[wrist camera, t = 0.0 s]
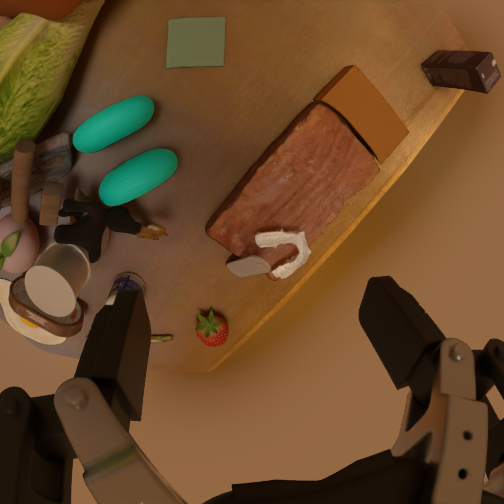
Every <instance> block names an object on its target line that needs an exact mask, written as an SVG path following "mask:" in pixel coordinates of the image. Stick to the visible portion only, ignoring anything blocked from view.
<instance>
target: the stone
mask: <svg viewBox="0 0 504 504" xmlns="http://www.w3.org/2000/svg"><path fill="white" fill-rule="evenodd" d="M72 142H73V141H72V136H71V132H68V131H65V132H62V133H60V134H58V135H56V136H53V137H50V138H49V139H47V140H44V141H41V142H39V143H37V144H35V145H36V148H35V154H34V161H33V168H32V176H31V185H30V195H29V196H31V195H33V194H35V193H37V192H39V191H41V190H43V187H44V183H45V181H49V182H55V181H56V180H58V179H60V178H61V177H63V176H65V175H66V174H67V173H68V172H69V171H70V169H71V165H72V160H73V159H72V155H71V145H72ZM13 160H14V157H12V158H10V159H9V160H7V161H5V162H3V163H1V164H0V183H1V208H4V207H6V206H9V205H11V188H12V171H13Z"/></svg>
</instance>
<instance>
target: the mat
mask: <svg viewBox="0 0 504 504" xmlns="http://www.w3.org/2000/svg"><path fill="white" fill-rule="evenodd" d="M225 26H226V17H195V18H178V19H169V23H168V37H167V56H166V68H167V69H169V68H183V67H211V66H224V46H225Z"/></svg>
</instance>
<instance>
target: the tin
mask: <svg viewBox="0 0 504 504" xmlns="http://www.w3.org/2000/svg"><path fill="white" fill-rule="evenodd" d="M8 300H9V304H10V307H11V308H12V310H13V311H14V312H15V313H16V314H18V315H19V316H21V317H23V318H24V319H26V320H28V321H29V322H31V323H33V324H35V325H37V326H38V327H40V328H42V329H44V330H46V331H47V332H49V333H51V334H53V335H55V336H59V337H72V336H74V335H76V334H77V333H79V332H80V330H81V328H82V325H83V319H84V311H83V308H82V306H81V304H80V303H79V302H78V300H77V299H76V305H75V308H74V310H73V311H72V313H71V314H69V315H67V316H64V317H55V316H52V315H49V314H47V313H45V312H44V311H42V310H41V309H40V308H38V307H37V306H36V305H35V304H34V303H33V302H32V300H31V299H30V297H29V295H28V293H27V291H26V288H25V275H24V276H20V277H18V278H16V279H15V280H14V281H13V282H12V283H11V285H10V289H9V297H8Z"/></svg>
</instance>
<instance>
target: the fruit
mask: <svg viewBox="0 0 504 504" xmlns="http://www.w3.org/2000/svg"><path fill="white" fill-rule="evenodd" d="M198 318H199V322H198V323H197V326H196V328H195V329H196V331H197V335H198V337H199V338H200V339H201V341H202V342H203V343H205V344H206V345H208V346H212V347H216V346H220V345H222V344H224V343H225V341H226V339H227V337H228V326H227V324H226V322H225V321H224V320H223V319H222V318H220V317H218V316H214V314H213V312H212V310H211V311H210V314H209V316H206V317H203V316H201V315H199V314H198Z"/></svg>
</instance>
